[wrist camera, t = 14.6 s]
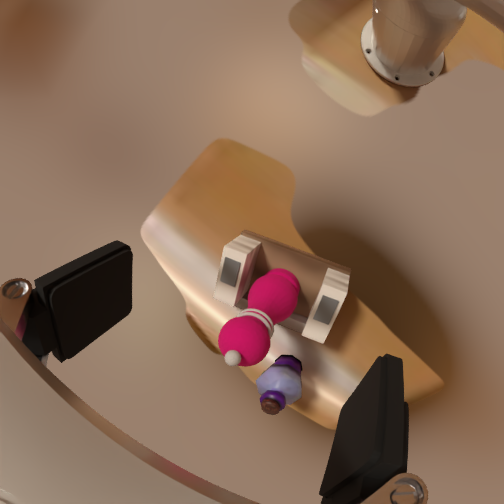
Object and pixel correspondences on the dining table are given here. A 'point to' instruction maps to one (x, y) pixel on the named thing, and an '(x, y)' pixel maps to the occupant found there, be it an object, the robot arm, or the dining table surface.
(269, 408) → the potion bottle
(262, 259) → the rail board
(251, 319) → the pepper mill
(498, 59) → the dining table surface
